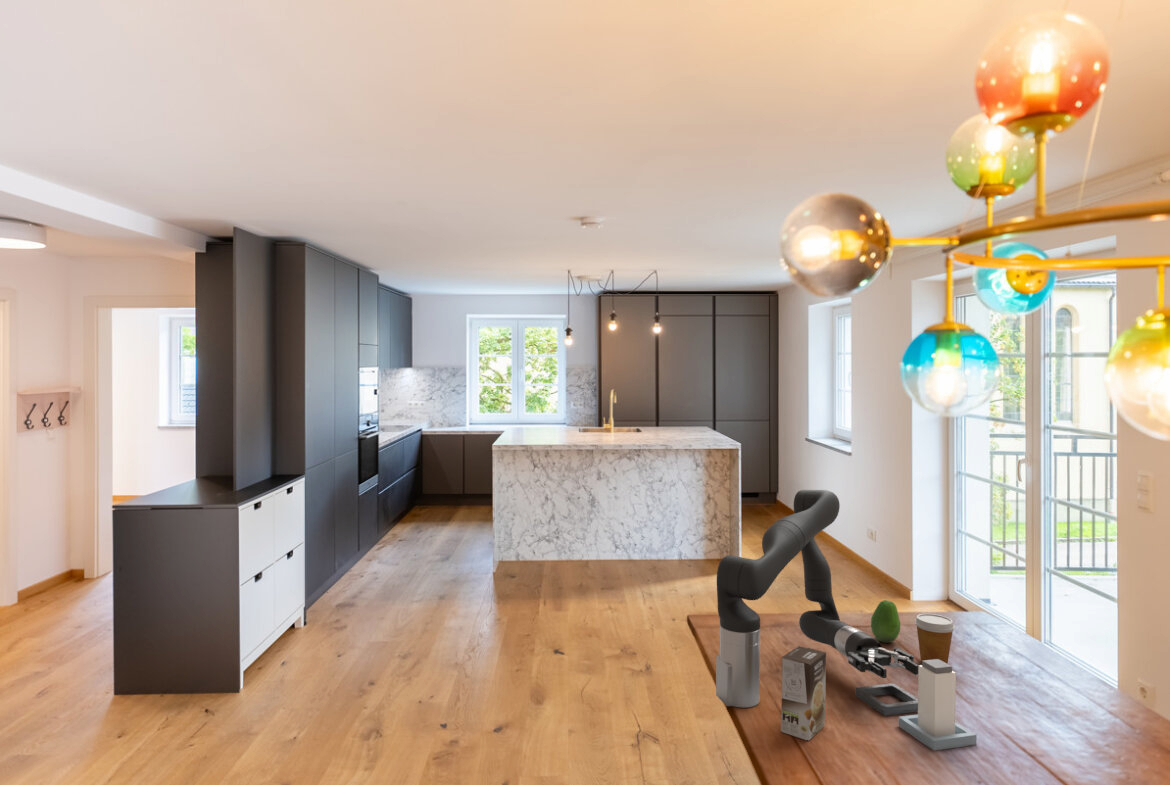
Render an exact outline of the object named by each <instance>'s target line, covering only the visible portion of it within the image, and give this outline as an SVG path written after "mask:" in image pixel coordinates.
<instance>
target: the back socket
mask: <svg viewBox="0 0 1170 785" xmlns="http://www.w3.org/2000/svg"><path fill="white" fill-rule="evenodd" d="M886 695H892V696H894V697H896V698H897V699H899V700H901V702H893V703H884V702H883V701H881V700H880V699H878V698H877V697H880V696H886ZM855 697H856V698H858V699H859V700H861V701H862V702H863V703H865V704H867V705H868V706H869V707H871V708H872V709H873V710H876V712H878V713H879V714H881V715H882V716H884V717H889V716H896V715H897V716H898V715H904V714H911V713H918V697H917V696H915V695H913V694H912V693H910V692H908V691H907V690H905V689H904V688H902V687H900V686H899V685H897V684H895V683H894V682H891V683H884V684H883V683H882V684H873V685H867V686H858V687H857V686H856V687H855Z"/></svg>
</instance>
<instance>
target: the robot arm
mask: <svg viewBox="0 0 1170 785" xmlns="http://www.w3.org/2000/svg"><path fill="white" fill-rule="evenodd" d="M840 506H841V504H840V499H839V497H838V495H836V494H835V493H834V492H833V491H830V490H827V489H826V490H825V489H801V490H799V491H797V492H796V494H795V496H794V498H793V513H792V514H790V515H787V516H784V517H782V518H780V519H778V520H777V521H775V522H774V523H773V524H772V525H771V526H770V527H769V528H767V530H765V532H764V534H763V536H762V540H761V547H762V554H763V555H762V556H761V557H759V558H757V559H752V558H747V557H741V556H737V555H726V556H724V557H722V559H721V560H720V562H719V564H718V566H717V571H716V596H717V598H716V599H717V601H716V602H717V613H718V617H719V654H718V655H716V657H715V658H716V659H715V663H716V664H715V665H716V666H715V669H716V670H715V696H716V697H718V699H719V700H720V701H721V702H722V703H723V704H724V705H725V706H726V707H736V708H753V707H755V706H757V705H758V704H759V703H760V694H761V693H760V692H761V691H760V690H761V689H760V688H761V687H760V686H761V685H760V684H761V683H760V682H761V681H760V678H761V675H760V673H761V671H760V670H761V669H760V668H761V663H760V662H761V617H760V615H759V613H758V612H756V611H755V610H754V609H752V608H751V607H749V606H748V604H746V602H745V601H746V600H747V601H758V600H759V599H761V598H762V597H763V596H764V595H765V594H766V593H767V591H768V590H770V587H771V586H772V584H773V583H774V582H775V580H776V579H777V577H778V576H779V574H780V573H781V572H782V571H783V570H784V569H785V567H787V565H788V564H789V563H790V562H791V561H792V560H793V559H795V558H796V557H797V555H799V553H800V552H801V557H802V563H803V574H804V575H803V577H804V595H805V598H806V600H807V601H810V602H815V603H818V605H819V606H820V609H817V610H816V609H815V610H814V609H813V610H807V611H804V612H803V613H802V614H801V616H800V617H799V622H798V623H799V629H800V630H801V632H802V634H804V636H805V637H807V638H808V639H810V640H812V641H814V642H816V643H817V642H818V643H821V644H824V645H827V646H830V647H832V648H833V649H835V650H837V652H840V653H841V654H842V655H843V656H845V657H846V658H847V660H848V662H847V663H848V664H849V665H850V666H852V667H853V668H854V669H856V670H857V671H858V672H861V673H866V671H868V673H872V674H875V675H876V676H879V677H880V678H882V679H886V678H887V675H888V674H887V672H888V671H887V668H893V669H898V668H902V669H905V670H906V671H908V672H910V673H911V674H913V675H915V676H916V675H917V676H918V668H919V664H917V663H915V662H914V661H915V660H914V659H915V656H914V655H913V654H911V653H908V652H907V651H905V650H903V649H901V648H899V647H893V650H889V649H887V648H884V647H883V646H882V645H881V643H880V641H879V640H877V639H876V637H873V636H872V635H870V634H868V633H866V632H864V631H863V630H861V629H859V628H856V627H853V626H851V625H849V624H847V623H846V622H844V621H841V619H840V616H839V613H838V610H837V608H836V603H835V600H834V597H833V590H832V588H833V586H832V574H831V568H830V565H829V563H828V561H827V559H826V557H825V555H824V554H823V552H822V551H821V548H820V547H819V545H818V544H817V542H816V539H815V537H816V536H817V535H818V534H819V533H820V532H822V531H823V530H825V529H826V528H828V527H829V526H830V525H832V523H834V522H835V521H836V519H837V517H838V516H839V512H840ZM744 600H745V601H744ZM892 658H893V663H892ZM885 667H887V668H885Z"/></svg>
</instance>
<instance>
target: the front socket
mask: <svg viewBox="0 0 1170 785" xmlns="http://www.w3.org/2000/svg"><path fill="white" fill-rule="evenodd" d="M898 727H899V728H901V730H903V731H905V732H906V733H908V735H911V736H912V737H914V739H917V740H918V741H919V742H921V743H922V744H923V745H925V746H926V747H928V748H929V749H931V750H932V751H941V750H947V749H954V748H955V749H956V748H961V747H967V746H975V745H977V734H976V733H974V732H973V731H971V730H970V729H968V728H967V727H965V726H963V725H962V724H960V723H958V722H956V721H955V734H954V735H946V736H939V737H933V736H932V735H930V734H929V733H928V732H926V731H925V730H923V729H922V728H920V727H919V726H918V713H917V714H911V715H903V716H898Z"/></svg>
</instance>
